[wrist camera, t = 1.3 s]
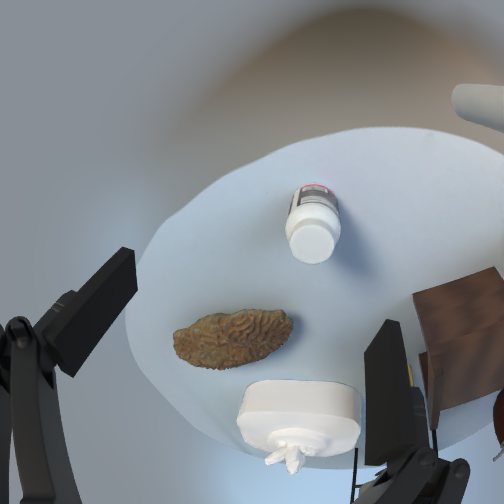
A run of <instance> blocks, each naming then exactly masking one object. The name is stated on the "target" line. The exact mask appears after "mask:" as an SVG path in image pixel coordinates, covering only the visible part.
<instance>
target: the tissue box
mask: <svg viewBox="0 0 504 504" xmlns="http://www.w3.org/2000/svg"><path fill="white" fill-rule="evenodd" d="M237 426H238V428H239V429H240V431H241V434H242V436H243V439H244V441H245V442H246V443H247V444H249V445H250V446H252V447H255V448H257V449H260V450H262V451H265V452H268V453H272V454H271V455H269V456H268V457H267V458H266V459H265V460H264V461H265V463H266V465H272V464H274V463H278V462H281V461H283V460H284V459H285V460H286V465H287V471H288V472H289V473H290V474H292V475H293V474H295V473H296V472H298V471H299V469H301V468H302V466H303V465H304V463H305V456H309V457H330V456H335V455H339V454H342V453H346V452H348V451H350V450H352V449H353V448H354V446H355V444H356V441H357V439H358V437H359V435H360V432H361V396H360V394H359V393H358V392H357V391H356V390H355V389H354V388H352V387H350V386H347V385H344V384H341V383H336V382H328V381H302V380H282V379H271V380H263V381H259V382H255V383H253V384H251V385H250V386H249V387H248V388H247V389H246V391H245V394H244V398H243V401H242V404H241V408H240V411H239V415H238V418H237Z"/></svg>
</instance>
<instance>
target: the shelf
mask: <svg viewBox="0 0 504 504" xmlns="http://www.w3.org/2000/svg"><path fill="white" fill-rule="evenodd" d="M412 295H413V302H414V305H415V308H416V312H417V315H418V319H419V322H420V326H421V329H422V333H423V337H424V341H425V345H426V349H427V352H425V353H422V354H419V362H420V367H421V372H422V378H423V384H424V390H425V396H426V403H427V410H428V418H429V427H430V430H434V429H437V427H438V421H439V415H440V411H442V410H445V409H448V408H451V407H455V406H458V405H461V404H464V403H467V402H469V401H472V400H475V399H478V398H480V397H483V396H486V395H488V394H491V393H493V392H496V391H498V390H500V389H503V388H504V280H503V279H502V277H501V276H500V274H499V273H498V271H497V270H496V268H495V267H491V268H488V269H486V270H483V271H480V272H478V273H475V274H472V275H469V276H466V277H463V278H460V279H458V280H455V281H452V282H449V283H446V284H442V285H439V286H436V287H433V288H430V289H427V290H423V291H420V292H417V293H414V294H412Z"/></svg>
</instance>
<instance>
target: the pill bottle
mask: <svg viewBox="0 0 504 504" xmlns="http://www.w3.org/2000/svg"><path fill="white" fill-rule="evenodd" d="M285 232H286V237H287V239H288V241H289V243H290V249H291V252H292V254H293V255H294V256H295V257H296V258H297V259H298V260H299V261H301V262H303V263H306V264H319V263H322V262H324V261H326V260H327V259H328V258H330V256H331V255H332V253H333V251H334V247H335V245H336V243H337V242H338V239H339V237H340V232H341V224H340V217H339V209H338V203H337V199H336V197H335V195H334V193H333V192H332V190H331V189H329V188H328V187H327V186H325V185H323V184H319V183H309V184H305V185H303V186H301V187H300V188H299V189H298V190H297V191H296V192H295V193H294V195H293V198H292V201H291V205H290V210H289V213H288V217H287V220H286V225H285Z"/></svg>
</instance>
